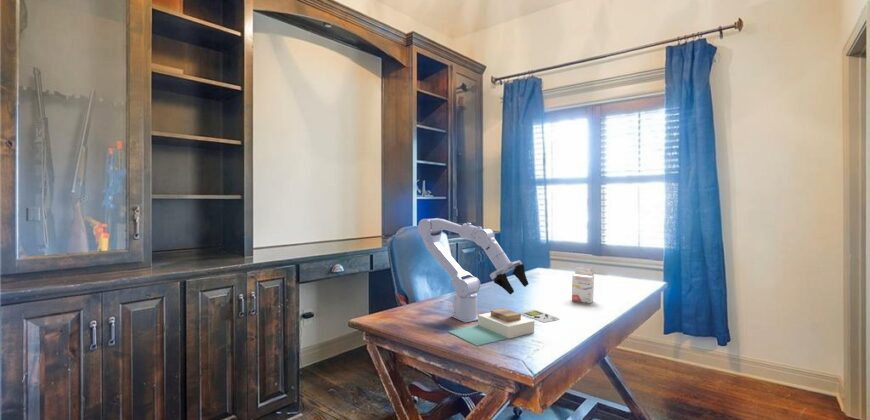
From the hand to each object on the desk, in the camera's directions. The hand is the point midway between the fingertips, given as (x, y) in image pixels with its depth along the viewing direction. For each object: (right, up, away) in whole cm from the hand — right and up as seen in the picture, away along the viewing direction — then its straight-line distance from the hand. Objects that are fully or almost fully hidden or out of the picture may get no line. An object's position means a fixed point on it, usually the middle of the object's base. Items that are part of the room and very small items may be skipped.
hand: (519, 289), depth 145 cm
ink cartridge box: (+37, -13, +40) cm, 56 cm away
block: (-5, -10, +1) cm, 11 cm away
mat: (-15, -14, -5) cm, 22 cm away
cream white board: (-5, -14, +1) cm, 15 cm away
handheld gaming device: (+11, -14, +17) cm, 25 cm away
